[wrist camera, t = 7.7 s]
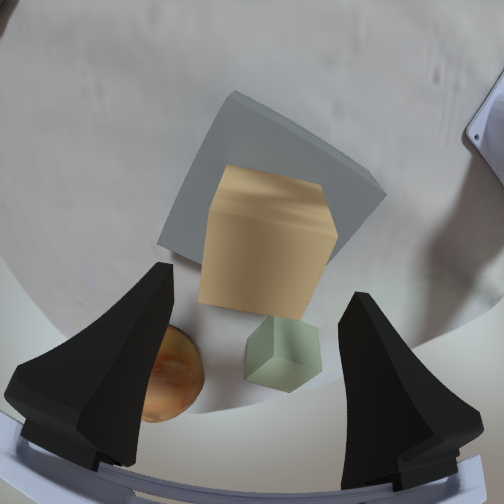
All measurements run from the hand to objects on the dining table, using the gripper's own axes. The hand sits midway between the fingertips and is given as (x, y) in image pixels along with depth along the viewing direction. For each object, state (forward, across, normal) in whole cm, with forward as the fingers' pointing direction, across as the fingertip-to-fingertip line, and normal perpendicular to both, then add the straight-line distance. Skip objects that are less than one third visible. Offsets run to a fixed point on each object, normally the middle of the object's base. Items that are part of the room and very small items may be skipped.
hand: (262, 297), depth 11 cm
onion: (+10, +8, +18) cm, 22 cm away
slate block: (+10, 0, 0) cm, 10 cm away
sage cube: (+10, -4, +14) cm, 18 cm away
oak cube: (+6, 0, 0) cm, 6 cm away
